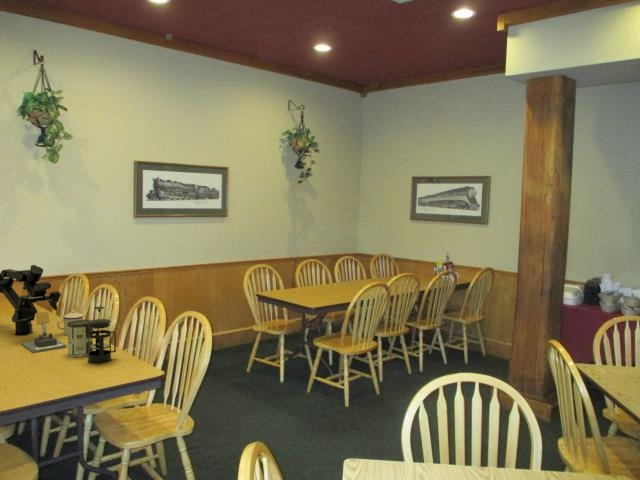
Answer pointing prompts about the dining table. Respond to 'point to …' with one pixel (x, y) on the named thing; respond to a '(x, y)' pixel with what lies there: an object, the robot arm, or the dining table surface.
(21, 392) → the dining table surface
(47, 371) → the dining table surface
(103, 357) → the french press
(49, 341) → the switch board
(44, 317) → the lever
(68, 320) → the teacup with lid
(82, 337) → the coffee can
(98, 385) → the dining table surface
